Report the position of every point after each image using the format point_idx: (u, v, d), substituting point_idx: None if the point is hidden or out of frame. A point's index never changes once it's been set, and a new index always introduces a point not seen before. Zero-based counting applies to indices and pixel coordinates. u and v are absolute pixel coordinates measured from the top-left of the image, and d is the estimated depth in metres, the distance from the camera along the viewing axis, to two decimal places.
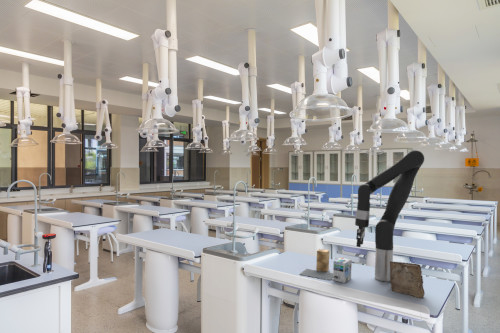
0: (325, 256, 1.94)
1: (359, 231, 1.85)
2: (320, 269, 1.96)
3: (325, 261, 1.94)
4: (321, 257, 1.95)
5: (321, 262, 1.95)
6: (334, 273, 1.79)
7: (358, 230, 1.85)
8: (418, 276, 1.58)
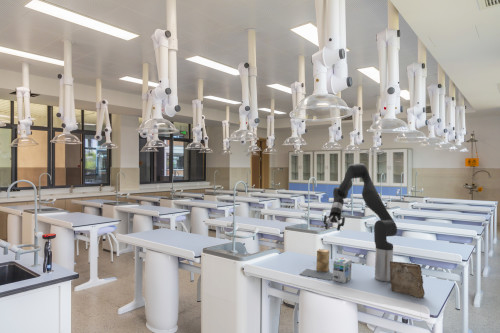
0: (325, 256, 1.94)
1: None
2: (320, 269, 1.96)
3: (325, 261, 1.94)
4: (321, 257, 1.95)
5: (321, 262, 1.95)
6: (334, 273, 1.79)
7: None
8: (418, 276, 1.58)
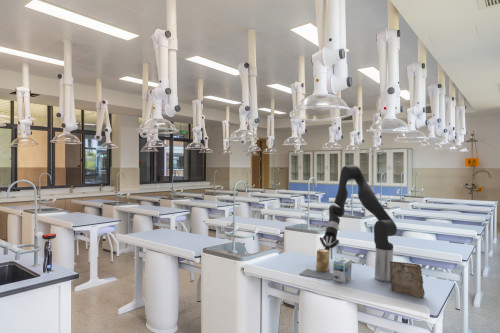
0: (325, 256, 1.94)
1: (320, 240, 2.13)
2: (320, 269, 1.96)
3: (325, 261, 1.94)
4: (321, 257, 1.95)
5: (321, 262, 1.95)
6: (334, 273, 1.79)
7: (320, 240, 2.14)
8: (418, 276, 1.58)
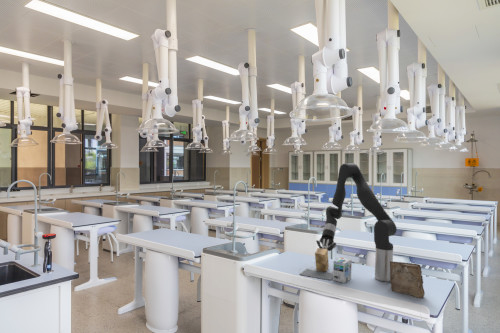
0: (324, 258, 1.92)
1: (317, 243, 2.06)
2: (320, 269, 1.95)
3: (324, 262, 1.92)
4: (320, 259, 1.93)
5: (320, 263, 1.94)
6: (334, 273, 1.79)
7: (317, 243, 2.07)
8: (418, 276, 1.58)
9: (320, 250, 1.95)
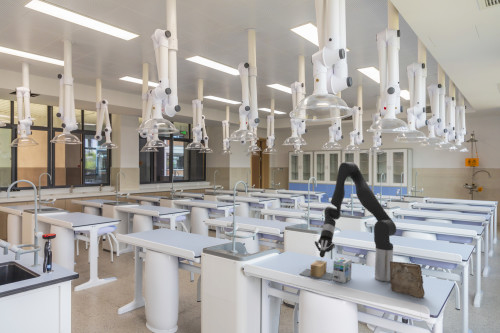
0: None
1: (315, 244, 2.03)
2: None
3: None
4: None
5: None
6: (334, 273, 1.79)
7: (315, 244, 2.04)
8: (418, 276, 1.58)
9: (314, 269, 1.85)
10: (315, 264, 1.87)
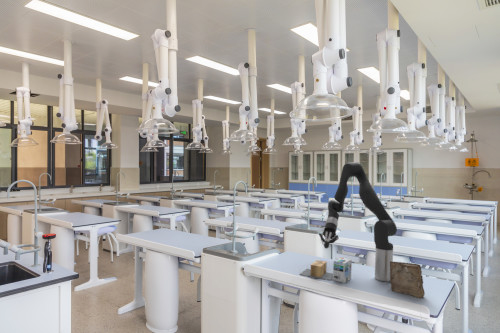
0: None
1: None
2: None
3: None
4: None
5: None
6: (334, 273, 1.79)
7: None
8: (418, 276, 1.58)
9: (314, 269, 1.85)
10: (315, 264, 1.87)
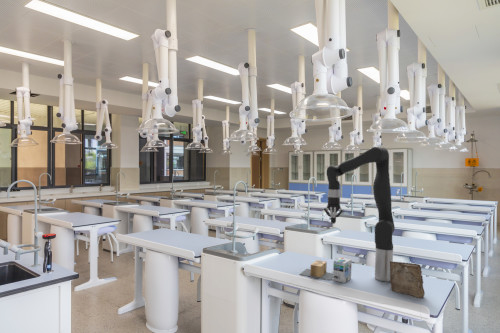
0: None
1: None
2: None
3: None
4: None
5: None
6: (334, 273, 1.79)
7: None
8: (418, 276, 1.58)
9: (314, 269, 1.85)
10: (315, 264, 1.87)
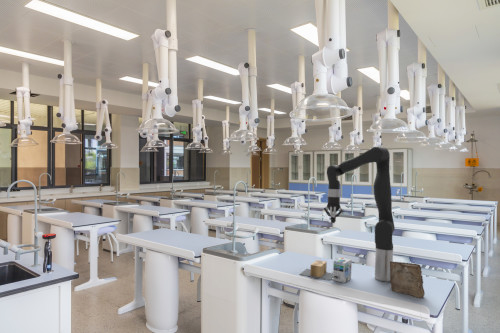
0: None
1: None
2: None
3: None
4: None
5: None
6: (334, 273, 1.79)
7: None
8: (418, 276, 1.58)
9: (314, 269, 1.85)
10: (315, 264, 1.87)
